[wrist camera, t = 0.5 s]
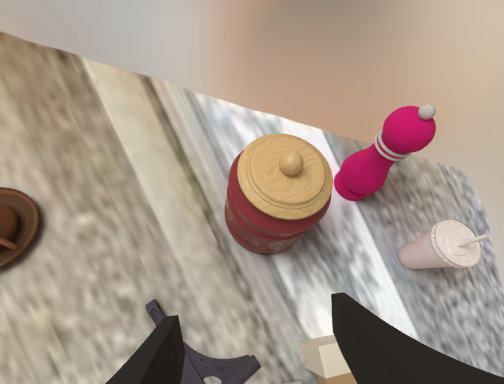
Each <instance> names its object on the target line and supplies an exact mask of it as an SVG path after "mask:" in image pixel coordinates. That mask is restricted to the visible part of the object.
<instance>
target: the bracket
mask: <svg viewBox="0 0 504 384" xmlns="http://www.w3.org/2000/svg"><path fill="white" fill-rule="evenodd" d="M146 309H147V312H148V313H149V315H150V317H151V318H152V320H153V321H154V323H155V325H156V326H157V325H158V324H159V323H160V322H161V321H162V320H163V318H164V317H165V315H164V313H163V311H162V310H161V308H160V306H159V305H158V303H157V301H156V300H155V299H154V300H152V301H151V302H149V303H148V304H147V305H146ZM183 343H184V342H183ZM184 349H185V358H184V366H183V373H182V379H181V383H180V384H204V382H203V380H202V379H203V378H204V377H207V376H215V377H218V378H219V379H220V380H221V381H222V383H221V384H243V383H244V382H245V381H246V380H247V379H248V378H249V377H250V376H251V375H252V374H253V373H254V372H255V371H256V370H258V369H259V368H260V367H261V366H260V364H259V363H258V361H257V360H256V358H255V357H254V356H253V355H252V356H251V357H249V355H245V356H242V357H238V358H233V359H215V358H210V357H206V356H204V355H202V354H200V353H198V352H196V351H194V350H193V349H192V348H190V347H189V346H188V345H187V344H186V343H184ZM201 359H202V360H201ZM205 367H207V368H205Z"/></svg>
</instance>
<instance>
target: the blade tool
mask: <svg viewBox="0 0 504 384" xmlns="http://www.w3.org/2000/svg"><path fill="white" fill-rule="evenodd" d="M282 384H303V383H302V380H300V379H298V380H294V381H290V382H286V383H282Z"/></svg>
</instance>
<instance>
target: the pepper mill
mask: <svg viewBox="0 0 504 384" xmlns="http://www.w3.org/2000/svg"><path fill="white" fill-rule="evenodd" d="M435 113H436V109H435V107H434V106H433V105H431V104H425V105H423V106H421V107H420V108H419V107H415V106H406V107H401V108H399V109H397V110H395V111H394V112H392V113H391V114H390V115H389V116H388V117H387V119H386V120H385V122H384V125H383V129H382V130H381V131H380V132H379V133H378V134H377V135H376V137H375V140H374V144H373V145H371V146H370V147H369V148H367V149H364V150H361V151H358V152H356V153H354V154H352V155H351V156H349V157H348V158H347V159H346V160H345V161H344V162H343V164H342V166H341V170H340V171H339V172H338V173H337V175H336V176H335V178H334V185H335V189H336V190H337V192H338V193H339V194H340V195H341V196H342V197H344V198H345V199H348V200H351V201H357V200H360V199H362V198H364V197H365V196H366V195H367V194H371V193H374V192H376V191H377V190H378V189H379V188H380V187H381V186H382V185H383V184H384V182H385V180H386V178H387V175H388V171H389V169H390V167H391V166H392V165H393V164H394V163H395V162H396V161H401V160H403V159H405V158H406V157H407V156H408V155H410V154H411V153H412V152H416V151H419V150H421V149H423V148H424V147H426V146H427V145H428V144H429V143H430V142H431V140H432V139H433V137H434V135H435V131H436V125H435V121H434V119H433V116H434V115H435Z"/></svg>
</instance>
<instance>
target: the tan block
mask: <svg viewBox="0 0 504 384" xmlns="http://www.w3.org/2000/svg"><path fill="white" fill-rule="evenodd" d="M300 347H301V352H302V356H303V361H304V366H305V368H306V369H308V370H310V371H312V372H314V373H315V375H316V379H317V384H357V382H356V380H355V378H354V376H353V375H352V373H351V371H350V369H349V367H348V365H347V363H346V361H345V359H344V357H343V355H342V353H341V351H340V349H339V346H338V344H337V341H336V338H335V336H334V335H330V336H325V337H321V338H316V339H311V340H307V341H302V342H300Z"/></svg>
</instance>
